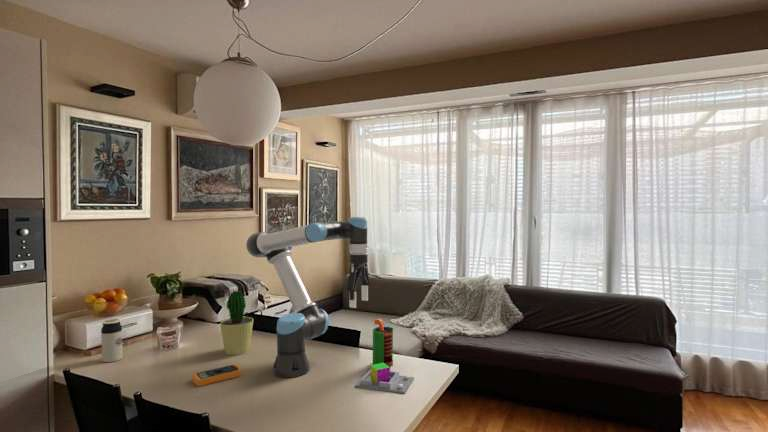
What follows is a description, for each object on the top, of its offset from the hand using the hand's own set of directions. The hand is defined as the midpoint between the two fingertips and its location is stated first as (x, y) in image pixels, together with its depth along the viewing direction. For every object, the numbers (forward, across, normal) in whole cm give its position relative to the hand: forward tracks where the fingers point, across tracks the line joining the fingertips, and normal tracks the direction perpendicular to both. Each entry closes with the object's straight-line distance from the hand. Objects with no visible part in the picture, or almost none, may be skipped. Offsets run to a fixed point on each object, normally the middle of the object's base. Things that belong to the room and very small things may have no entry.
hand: (359, 303), depth 180 cm
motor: (+29, +10, -7) cm, 31 cm away
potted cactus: (+29, +6, +66) cm, 72 cm away
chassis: (+29, -8, -14) cm, 33 cm away
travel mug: (+29, -21, +114) cm, 119 cm away
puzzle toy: (+28, -8, -12) cm, 32 cm away
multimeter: (+29, -24, +53) cm, 65 cm away
